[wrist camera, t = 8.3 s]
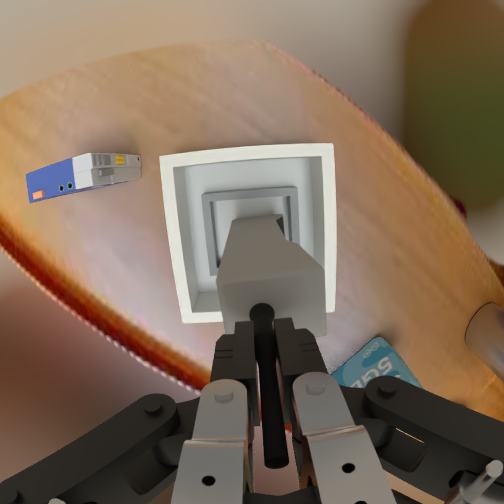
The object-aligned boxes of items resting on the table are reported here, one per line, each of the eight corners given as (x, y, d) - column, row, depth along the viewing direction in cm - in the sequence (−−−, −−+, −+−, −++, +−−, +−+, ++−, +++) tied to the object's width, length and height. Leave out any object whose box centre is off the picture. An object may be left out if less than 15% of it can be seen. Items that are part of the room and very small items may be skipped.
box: (317, 147, 31) (333, 143, 25) (321, 289, 35) (334, 311, 30) (174, 158, 31) (159, 156, 25) (192, 299, 35) (182, 323, 30)
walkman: (87, 190, 31) (27, 204, 20) (85, 168, 31) (23, 174, 19) (143, 178, 31) (93, 185, 20) (140, 155, 30) (89, 151, 19)
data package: (378, 332, 38) (415, 384, 26) (393, 347, 39) (429, 397, 27) (317, 384, 40) (335, 444, 28) (335, 396, 41) (354, 453, 29)
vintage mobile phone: (285, 248, 30) (383, 474, 6) (237, 255, 30) (215, 499, 6) (282, 212, 29) (412, 393, 5) (232, 219, 29) (177, 428, 5)
